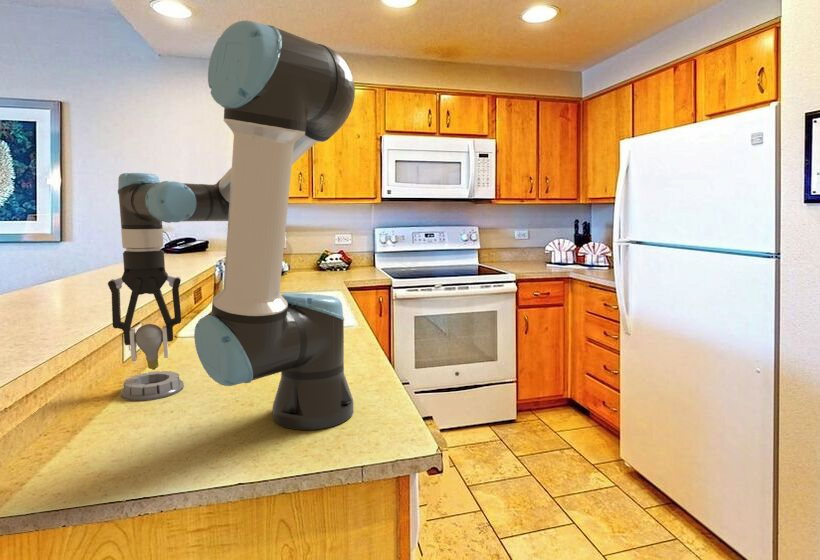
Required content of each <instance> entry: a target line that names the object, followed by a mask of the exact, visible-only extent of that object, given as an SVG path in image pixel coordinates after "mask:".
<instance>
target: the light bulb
mask: <svg viewBox="0 0 820 560" xmlns="http://www.w3.org/2000/svg"><path fill="white" fill-rule="evenodd" d="M135 342H136V346H138V348H139V349H140V350H141V351H142V352H143V354H144V355H145V359H146V362H147V368H148V369H150V370H156V369H157V368H159V366H160V365H159V350H160V348H161V347H162V345H163V331H162V328H161V326H158V325H157V324H153V323H146V324H143V325H141V326H140V327H139V328H138V329H137V330H135Z"/></svg>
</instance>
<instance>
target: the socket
mask: <svg viewBox="0 0 820 560" xmlns="http://www.w3.org/2000/svg"><path fill="white" fill-rule="evenodd" d="M183 389H184V381H183V380H181V379H180V374H179V373H178V372H175V371H171V370H170V371H169V370H161V371H157V370H156V371H149V372H143V373H140V374H136V375H134V376H131V377H128V378H127V379H126V378H125V380H124V381H123V388H122V389H121V390H120V397H121V398H122V399H123V400H126V401H131V402H132V401H133V402H143V401H144V402H147V401H153V400H160V399H164V398H168V397H171V396H173V395H176V394H178V393H179V392H181V391H182V390H183Z"/></svg>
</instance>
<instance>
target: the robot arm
mask: <svg viewBox="0 0 820 560" xmlns="http://www.w3.org/2000/svg"><path fill="white" fill-rule="evenodd" d="M348 65H349V64H348V63H347V62H346V61H345V59H344V58H343V57H342V56H341V55H340V54H339V53H338V52H336V51H335V49H332V48H331V47H329V46H326V45H324V44H321V43H316V42H314V41H311V40H308V39H306V38H305V37H301V36H299V35H296V34H293V33H290V32H288V31H286V30H282V29H280V28H278V27H275V26H273V25H269V24H265V23H264V24H263V23H260V22H256V21H252V20H240V21H239V20H238V21H236V22H234V23H232V24H231V25H229V26H227V27H226V28H225V29H224V31H223V32H222V34H221V35H220V36H219V37H218V38H217V41H216V43H215V44H214V46H213V49H212V51H211V55H210V58H209V61H208V69H207V84H208V87H209V89H210V95H211V97H212V99H213V100H214V101H215V102H216V104H218V105H220V106H221V107H222V108H223V109H224V110H223V122H224V123H225V124H226V125H227V127H228V128H229V129H230V130H231V132H232V134H233V143H232V145H233V146H232V155H231V156H232V157H231V167H230V169H228V170H227V172H226V173H225V174H223V176H222V177H221V178H220V179H218V181H217V182H216V183H215V184H204V183H184V182H178V181H169V180H168V181H167V180H165V181H163V180H162V181H160V178H159V176H158V175H157V174H153V173H145V172H144V173H143V172H142V173H141V172H125V173H121V174H119V175H118V179H117V181H118V185H117V188H118V189H117V194H118V203H119V216H120V227H121V229H120V230H121V231H120V232H121V234H120V235H121V244H122V248H123V249H125V250H124V251H123V252H122V257H123V274H122V276H121V277H119V278H116V279H110V280H109V281H108V282H107V286H108V287H109V290H110V292H111V312H112V313H111V317H112V318H111V319H112V328H114V329H119V330H122V332H123V342H124V345H125V346H130V356H131V357H130V359H131V362H136V361H137V358H138V353H137V344H136V342H135V333H136V327H131V326H132V324H133V323H132V322H133V319H134V314H135V310H136V307H137V303H138V300H139V299H138V298H139V296H141V295H144V294H148V295H153V297H154V299H155V301H156V303H157V306H158V308H159V311H160V314H161V317H162V318H163V321H164V324H165V325H162V328H161V329H162V331H163V342H162V345H163V358H164V359H168V358H169V343H170V342H173V340H174V326H175V325H178V324H181V323H182V310H181V309H182V308H181V301H180V299H181V298H180V286H181V281H182V279H181V277H180V276H176V277H175V276H172V275H168V273H167V270H166V265H165V251H164V250H162V248H163V247H164V232H163V231H164V229H163V222H164V223H169V224H170V223H181V222H227V230H226V231H227V233H226V234H227V235H226V248H225V249H226V250H225V263H224V280H223V289H222V290H221V291H220V292H219V293H217V294H216V295H214V296H213V298H212V304H211V314H207V315H204V316H203V317H201V318H200V319H198V321H197V322H196V324H195V328H194V334H193V336H194V345H195V346H194V347H195V351H196V354H197V356H198V359H199V361H200V364H201V365H202V367H203V369H204V370H205V373H206V374H207V375H208V376H209V377H210V378H211V379H212V380H213V381H214V382H215V383H217V384H219V385H221V386H225V387H232V386H233V387H234V386H236V385H241V384H249V383H251V382H252V381H256V380H259V379H262V378H265V377H268V376H271V375H275V374H279V373H281V377H280V380H279V384H278V387H277V391H276V393H275V397H274V400H273V404H272V419H273V421H274V422H275V423H276V424H277V425H279V426H281V427H283V428H288V429H290V430H302V431H304V430H305V431H310V430H311V431H312V430H313V431H314V430H322V429H326V428H332V427H334V426H337V425H338V426H339V425H340V424H342V423H344V422H346V421H348V420H349V419H350V418H352V416H353V415H354V398H353V395H352V393H351V389H350V387H349V384H348V382H347V381H348V380H347V378H346V376H345V371H344V370H345V368H344V367H345V365H344V364H345V363H344V362H345V361H344V356H345V355H344V353H345V352H344V351H345V350H344V349H345V347H344V344H345V343H344V337H345V336H344V329H345V327H344V326H345V325H344V322H345V318H344V312H343V309H344V308H343V304H342V301H341V300H340V299H339V298H337V297H335V296H333V295H325V294H316V293H315V294H314V293H302V292H289V293H288V292H285V293H281V292H280V291H281V282H282V271H283V260H284V259H283V258H284V252H285V251H284V249H285V239H286V229H287V219H288V218H287V217H288V209H289V208H288V207H289V197H290V187H291V186H290V185H291V176H292V169H293V168H292V166H293V165H294V163H296V162H297V161H298V160H299V159H300V158H301V157H302V156H303V155H304V154H305V153H307V152H308V151H309V150H310V149H311V148H312V147H313V146H314V145H315V144H316V143H325V142H327V141H328V140H330V138H331V137H333V135H335V134H336V133H337V132H338V131H339V130H340V128H342V127H343V125H344V124H345V123H346V121H347V119H348V118H349V117H350V114H351V113H352V110H353V106H354V103H355V97H356V96H355V95H356V87H355V86H356V85H355V80H354V77H353V73H352V71H351V69H350V67H349V66H348ZM166 281H167V282H168V285H169V286H170V288H171V290H172V302H173V303H172V304H173V314H174V317H173V318H172V317H171V314H170V312H169V309H168V306H167V304H166V302H165V299H164V295H163V293H162V290H161V289H162V288H163V286H164V284H165V283H166ZM123 283H124V284H125V286H127V287H128V289H129V290H131V294H130V297H129V298H130V299H129V303H128V307H127V310H126V315H125V319H124V321H122V315H121V314H122V313H121V290H120V289H122V286H123Z"/></svg>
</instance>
